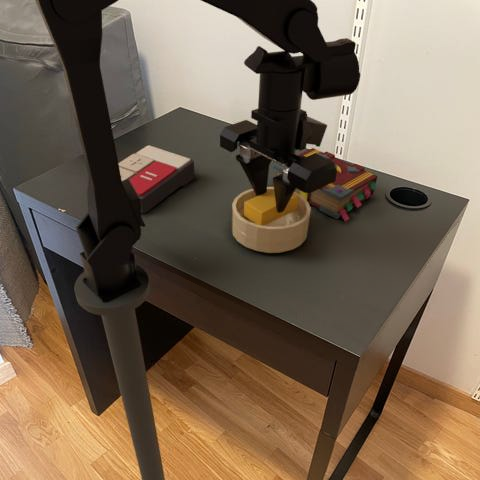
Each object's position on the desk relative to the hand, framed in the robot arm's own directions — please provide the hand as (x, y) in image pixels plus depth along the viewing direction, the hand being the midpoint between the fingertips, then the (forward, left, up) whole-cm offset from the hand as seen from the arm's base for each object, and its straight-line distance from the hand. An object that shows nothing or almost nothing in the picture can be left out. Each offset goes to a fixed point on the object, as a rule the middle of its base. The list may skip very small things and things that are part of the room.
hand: (271, 206), depth 75 cm
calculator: (-7, +25, -5) cm, 26 cm away
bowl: (0, 0, -5) cm, 5 cm away
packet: (0, 0, -1) cm, 1 cm away
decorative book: (+17, +3, -5) cm, 18 cm away
